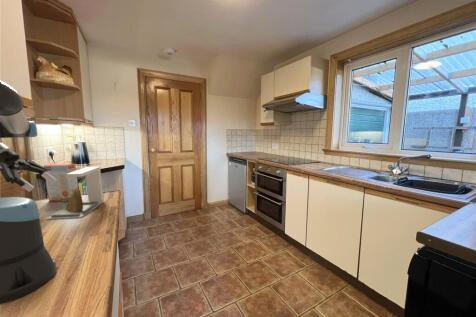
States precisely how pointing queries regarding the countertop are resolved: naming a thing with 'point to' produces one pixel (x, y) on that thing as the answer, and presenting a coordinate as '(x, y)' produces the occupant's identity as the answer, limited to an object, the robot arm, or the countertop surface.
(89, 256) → the countertop surface
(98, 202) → the shelf unit
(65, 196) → the cracker box
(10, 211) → the robot arm
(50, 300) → the countertop surface
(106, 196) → the countertop surface
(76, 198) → the rock
